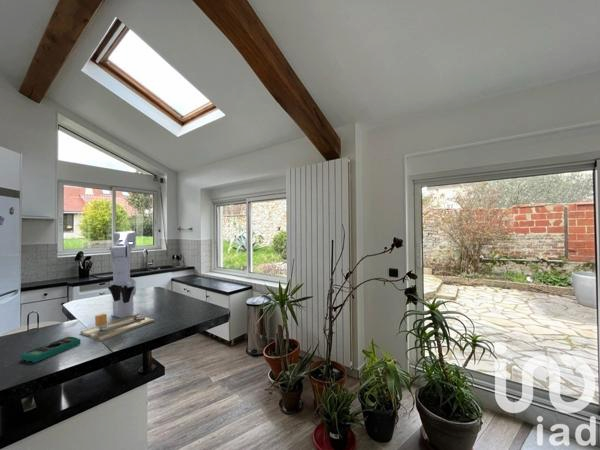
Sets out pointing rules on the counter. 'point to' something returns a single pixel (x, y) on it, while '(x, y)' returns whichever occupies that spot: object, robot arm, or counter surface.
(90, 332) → the hole gauge board
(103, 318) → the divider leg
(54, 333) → the counter surface
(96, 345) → the counter surface
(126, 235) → the robot arm
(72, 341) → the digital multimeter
